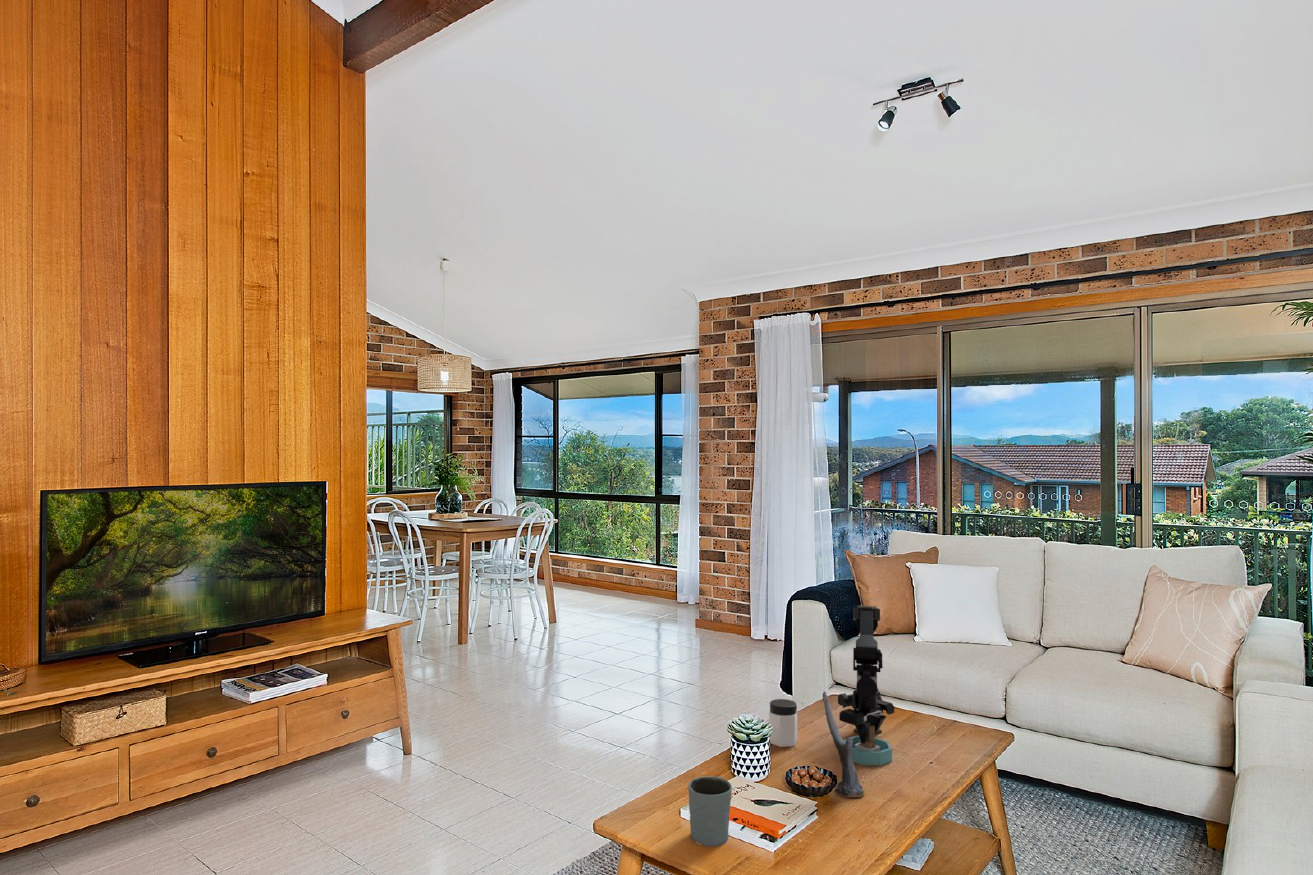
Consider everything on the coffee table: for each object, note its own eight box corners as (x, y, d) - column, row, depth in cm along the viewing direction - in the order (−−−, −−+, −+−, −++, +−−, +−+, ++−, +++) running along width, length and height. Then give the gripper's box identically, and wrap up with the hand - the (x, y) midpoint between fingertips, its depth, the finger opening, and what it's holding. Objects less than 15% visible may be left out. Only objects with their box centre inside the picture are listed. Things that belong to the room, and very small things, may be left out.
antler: (869, 793, 204) (868, 696, 205) (854, 802, 198) (853, 703, 199) (829, 780, 212) (829, 687, 213) (814, 789, 206) (814, 693, 207)
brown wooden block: (865, 751, 231) (864, 723, 232) (875, 754, 228) (874, 725, 229) (860, 752, 230) (859, 724, 230) (870, 755, 227) (869, 727, 228)
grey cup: (705, 823, 187) (705, 772, 187) (741, 836, 181) (740, 783, 181) (679, 839, 179) (679, 786, 180) (715, 853, 173) (714, 798, 173)
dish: (863, 745, 238) (863, 733, 238) (900, 758, 228) (899, 745, 228) (835, 755, 230) (835, 742, 230) (871, 768, 220) (871, 755, 220)
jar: (803, 743, 240) (803, 703, 240) (785, 749, 235) (785, 709, 235) (781, 735, 247) (781, 697, 247) (763, 741, 242) (763, 702, 242)
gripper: (864, 676, 242) (864, 727, 241) (824, 687, 230) (824, 740, 230) (895, 684, 233) (895, 737, 232) (855, 696, 222) (855, 752, 221)
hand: (867, 741), depth 229 cm, fingers open, 4 cm apart
